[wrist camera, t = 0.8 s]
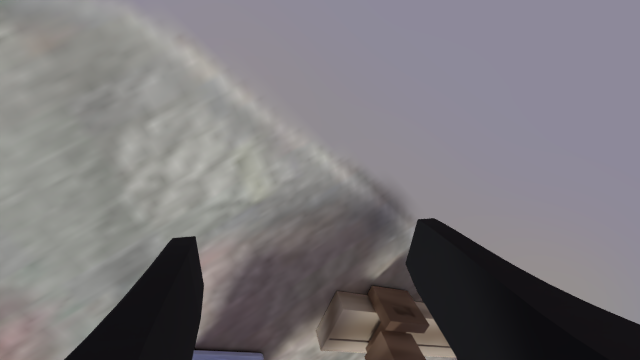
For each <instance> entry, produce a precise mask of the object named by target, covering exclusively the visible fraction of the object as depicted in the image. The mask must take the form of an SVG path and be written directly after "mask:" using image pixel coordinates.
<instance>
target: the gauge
mask: <svg viewBox="0 0 640 360" xmlns="http://www.w3.org/2000/svg"><path fill="white" fill-rule="evenodd" d="M368 296H369V298H370V300H371V302H372V304H373V306H374V308H375V310H376V313H377V315H378V317H379V319H380V321H381V323H380V325H379V327H378V328H377V330H376V332H375V333H374V335H373V337H372V338H371V340H370V341H369V343H368V345H367V346H366V348H365V349H366V351H367V354H366V356H365V359H366V360H426V359H425V357H424V355H423V354H422V352H421V350H420V348H419V347H418V345H417V343H416V341H415V339H414V338H413V336H412V334H411V333H423V334H424V333H425V331H426V330H427V328H428V327H429V326H430V325H429V323H428V322H427V320H426V319H425V317H424V316H423V314H422V312H421V311H420V309H419V308H418V306H417V305H416V303H415V302H414V300H413V299H412V297H411V296H410V294H409V292H408V291H404V290H397V289H391V288H384V287H377V286H372V287H371V289H370V291H369V292H368ZM406 332H411V333H406Z"/></svg>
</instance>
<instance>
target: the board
mask: <svg viewBox="0 0 640 360" xmlns="http://www.w3.org/2000/svg"><path fill="white" fill-rule="evenodd" d="M414 302H415V301H414ZM415 303H416V305H417V306H418V308H419V309H420V311H421V312H422V314H423V316H424V317H425V319H426V320H427V322H428V323H429V325H430V326H429V327H428V328H427V330H426V331H425V333H424V334H423V333H411V332H406V333H411V334H412V336H413V338H414V339H415V341H416V343H417V345H418V347H419V348H420V350H421V352H422V354H423V355H424V356H433V357H452V358H456V356H455V354H454V352H453V351H452V349H451V347H450V346H449V344H448V342H447V341H446V339H445V337H444V336H443V334H442V332H441V331H440V329H439V327H438V326H437V324H436V322H435V321H434V319H433V317H432V315H431V314H430V312H429V310H428V309H427V307H426V305H425V304H424V303H422V302H415ZM380 323H381V321H380V319H379V317H378V315H377V313H376V310H375V308H374V306H373V304H372V302H371V300H370V298H369V296H368V295H363V294H355V293H348V292H340V291H336V293H335V295H334V297H333V299H332V301H331V303H330V305H329V307H328V309H327V311H326V312H325V314H324V316H323V318H322V320H321V322H320V324H319V326H318V328H317V330H316V333H317V337H318V341H319V345H320V349H321V351H336V352H355V353H367V351H366V349H365V348H366V346H367V345H368V343H369V341H370V340H371V338H372V337H373V335H374V333H375V332H376V330H377V328H378V327H379V325H380Z"/></svg>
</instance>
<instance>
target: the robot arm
mask: <svg viewBox="0 0 640 360" xmlns="http://www.w3.org/2000/svg"><path fill="white" fill-rule="evenodd" d="M406 266H407V268H408V271H409V273H410V276H411V278H412V280H413V283H414V285H415V287H416V289H417V291H418V293H419V295H420V297H421V298H422V300H423V302H424V304H425V305H426V307H427V309H428V310H429V312H430V314H431V315H432V317H433V319H434V321H435V322H436V324H437V326H438V327H439V329H440V331H441V332H442V334H443V336H444V337H445V339H446V341H447V342H448V344H449V346H450V347H451V349H452V351H453V352H454V354H455V356H456V358H457V360H640V325H639V324H637V323H635V322H632V321H630V320H627V319H625V318H622V317H620V316H618V315H615V314H613V313H611V312H608V311H606V310H604V309H601V308H599V307H596V306H594V305H592V304H590V303H588V302H585V301H583V300H581V299H579V298H577V297H575V296H572V295H571V294H569V293H566V292H564V291H562V290H560V289H558V288H556V287H554V286H552V285H550V284H548V283H546V282H544V281H542V280H540V279H538V278H536V277H535V276H533V275H531V274H529V273H527V272H526V271H524V270H522V269H520V268H518V267H516V266H515V265H512V264H511V263H509V262H508V261H505V260H504V259H502V258H501V257H499V256H497V255H496V254H494V253H492V252H490V251H489V250H487V249H485V248H484V247H482V246H481V245H479V244H477V243H475V242H474V241H472V240H471V239H469V238H467V237H466V236H464V235H462V234H461V233H459V232H457V231H456V230H454V229H452V228H451V227H449V226H447V225H446V224H444V223H442V222H440V221H438V220H436V219H434V218H431V219H418V221H417V224H416V228H415V232H414V235H413V239H412V242H411V246H410V249H409V253H408V256H407V260H406ZM203 290H204V283H203V278H202V272H201V266H200V260H199V254H198V248H197V243H196V237H195V236H194V237H181V238H173V239H172V240H171V241H170V242H169V243H168V244H167V245H166V247H165V248H164V249H163V250H162V252H161V253H160V254H159V256H158V257H157V258H156V259H155V261H154V262H153V263H152V264H151V266H150V267H149V268H148V269H147V270H146V272H145V273H144V274H143V275H142V277H141V278H140V279H139V280H138V281H137V282H136V284H135V285H134V286H133V287H132V288H131V289H130V291H129V292H128V293H127V294H126V295H125V296H124V298H123V299H122V300H121V301H120V302H119V303H118V304H117V306H116V307H115V308H114V309H113V310H112V311H111V312H110V313H109V314H108V315H107V316H106V317H105V318H104V319H103V321H102V322H101V323H100V324H99V325H98V326H97V327H96V328H95V329H94V330H93V331H92V332H91V333H90V334H89V335H88V336H87V338H86V339H85V340H84V341H83V342H82V343H81V344H80V345H79V346H78V347H77V348H76V349H75V350H74V351H73V352H72V353H71V354H69V355H68V356H67V357H66V358H65V359H64V360H264V356H263V354H261V353H247V352H225V351H202V350H194V348H195V343H196V339H197V334H198V329H199V324H200V320H201V311H202V301H203Z"/></svg>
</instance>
